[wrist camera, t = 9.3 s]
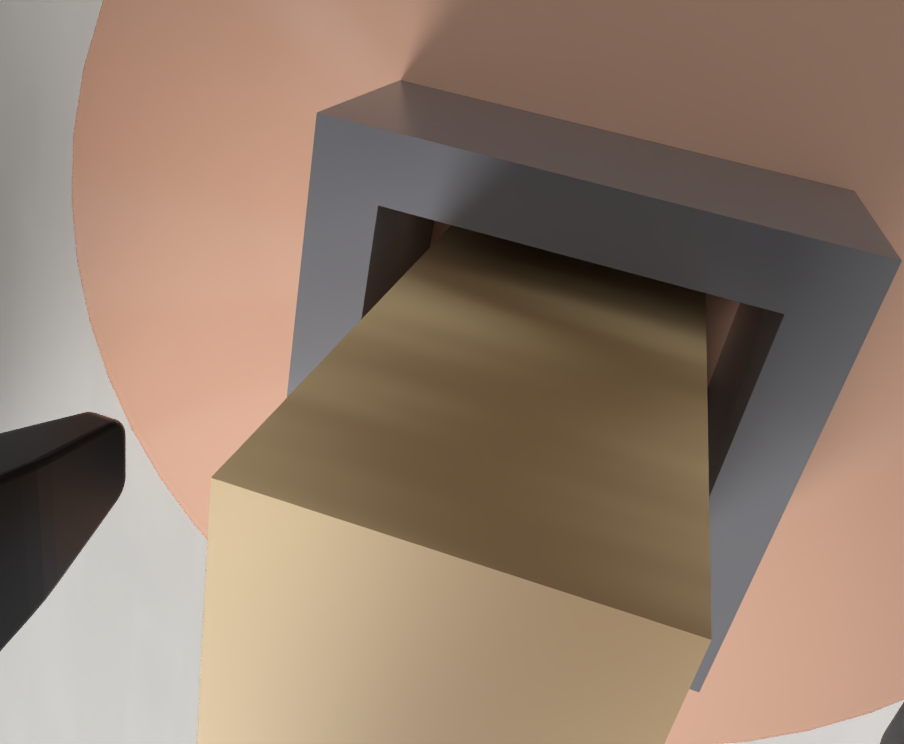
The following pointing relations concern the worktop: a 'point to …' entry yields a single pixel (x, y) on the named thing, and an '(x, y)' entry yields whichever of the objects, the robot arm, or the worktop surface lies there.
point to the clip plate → (545, 227)
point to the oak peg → (472, 517)
